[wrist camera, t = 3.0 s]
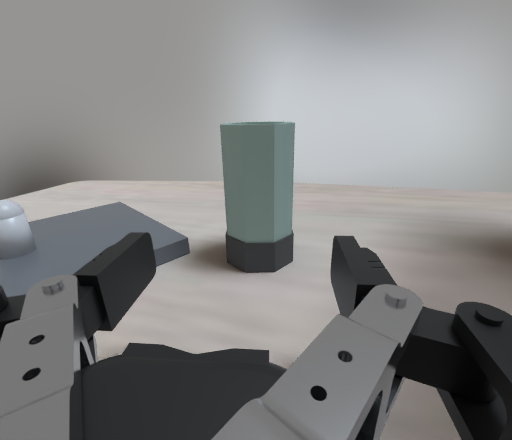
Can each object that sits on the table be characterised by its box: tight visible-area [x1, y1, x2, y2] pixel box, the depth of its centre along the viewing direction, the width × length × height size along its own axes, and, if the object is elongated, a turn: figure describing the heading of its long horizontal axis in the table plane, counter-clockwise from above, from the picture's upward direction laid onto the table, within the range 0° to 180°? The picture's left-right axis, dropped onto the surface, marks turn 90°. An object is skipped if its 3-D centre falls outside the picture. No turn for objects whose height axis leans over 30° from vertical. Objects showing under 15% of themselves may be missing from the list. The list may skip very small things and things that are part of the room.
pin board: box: [0, 200, 190, 297], centre depth 22 cm, size 22×16×6 cm
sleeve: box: [220, 122, 295, 272], centre depth 22 cm, size 6×6×11 cm
